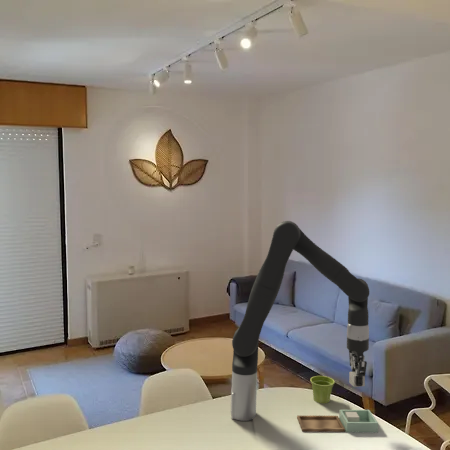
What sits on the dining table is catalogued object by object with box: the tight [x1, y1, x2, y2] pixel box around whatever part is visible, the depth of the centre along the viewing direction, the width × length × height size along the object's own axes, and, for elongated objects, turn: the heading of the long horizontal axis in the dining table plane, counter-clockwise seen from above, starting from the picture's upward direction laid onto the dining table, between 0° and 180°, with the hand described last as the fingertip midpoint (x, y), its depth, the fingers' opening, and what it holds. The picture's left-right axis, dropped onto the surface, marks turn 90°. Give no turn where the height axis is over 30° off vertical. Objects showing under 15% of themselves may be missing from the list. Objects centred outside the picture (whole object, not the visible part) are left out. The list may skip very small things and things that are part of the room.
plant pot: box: [310, 375, 335, 404], centre depth 203 cm, size 9×9×9 cm
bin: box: [338, 409, 379, 433], centre depth 183 cm, size 11×10×4 cm
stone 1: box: [348, 371, 366, 388], centre depth 182 cm, size 4×4×4 cm
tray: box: [296, 415, 346, 433], centre depth 183 cm, size 15×10×2 cm, turn 92°
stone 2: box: [345, 412, 359, 422], centre depth 183 cm, size 4×4×4 cm
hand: (357, 382), depth 182 cm, fingers closed on stone 1, 4 cm apart
